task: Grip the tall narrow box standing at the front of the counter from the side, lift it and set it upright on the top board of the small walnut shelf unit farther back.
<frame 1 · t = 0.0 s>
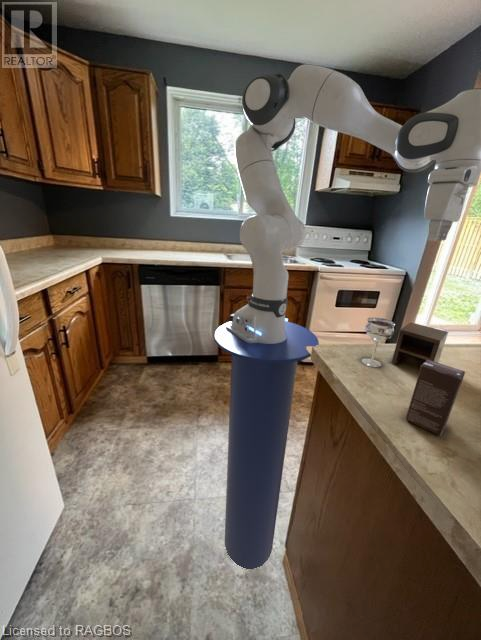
hand: (436, 240, 67), 33 cm above the countertop, tool pointing down, fingers open, 8 cm apart
wineglass: (371, 363, 74), on the countertop
shelf: (414, 364, 75), on the countertop
box: (424, 423, 52), on the countertop
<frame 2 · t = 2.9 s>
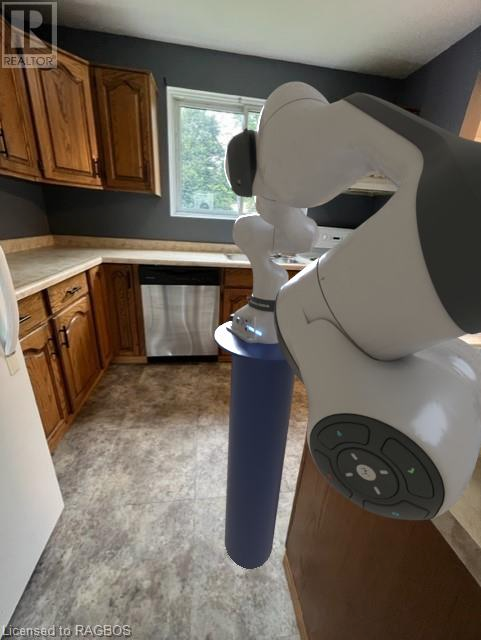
hand: (449, 344, 36), 21 cm above the countertop, tool horizontal, fingers open, 8 cm apart
nothing on the countertop moved.
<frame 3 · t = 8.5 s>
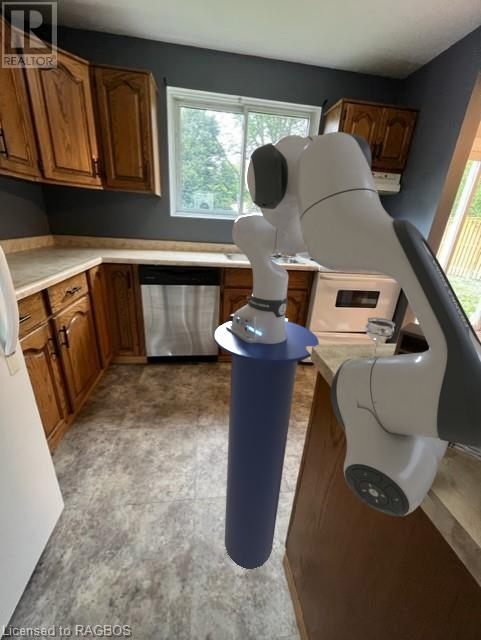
hand: (435, 392, 51), 7 cm above the countertop, tool horizontal, fingers closed on box, 6 cm apart
box: (424, 423, 52), on the countertop, touching gripper
everything else where it was.
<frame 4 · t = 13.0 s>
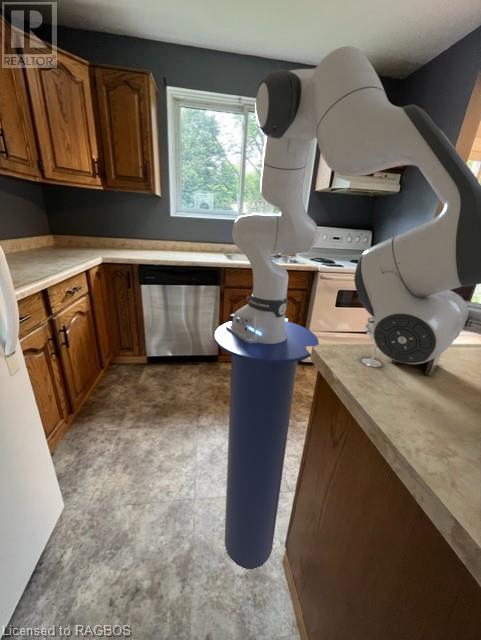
hand: (450, 301, 54), 22 cm above the countertop, tool horizontal, fingers closed on box, 6 cm apart
box: (439, 333, 56), point 15 cm above the countertop, touching gripper
everything else where it was.
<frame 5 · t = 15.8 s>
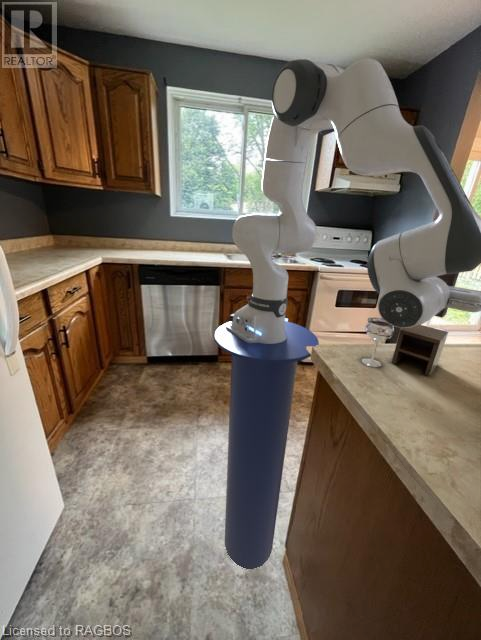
hand: (438, 288, 67), 21 cm above the countertop, tool horizontal, fingers closed on box, 6 cm apart
box: (429, 314, 69), point 15 cm above the countertop, touching gripper
everything else where it was.
when the fingers open (16 cm above the countertop, at t = 17.8 s): box stays where it is, resting on shelf.
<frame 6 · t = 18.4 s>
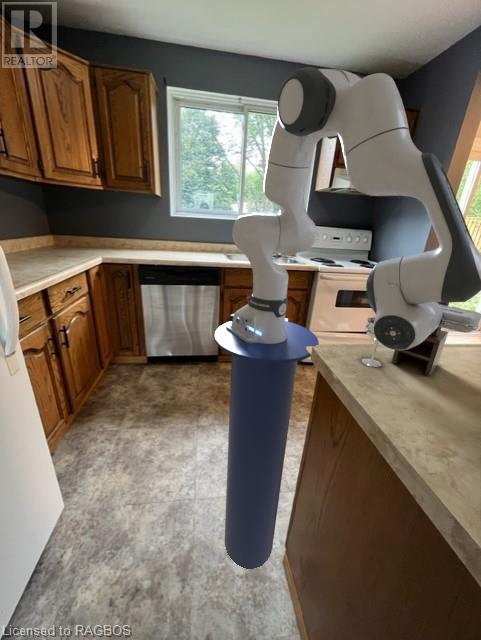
hand: (432, 305, 70), 17 cm above the countertop, tool horizontal, fingers open, 8 cm apart
box: (424, 331, 71), point 10 cm above the countertop, touching shelf
everything else where it was.
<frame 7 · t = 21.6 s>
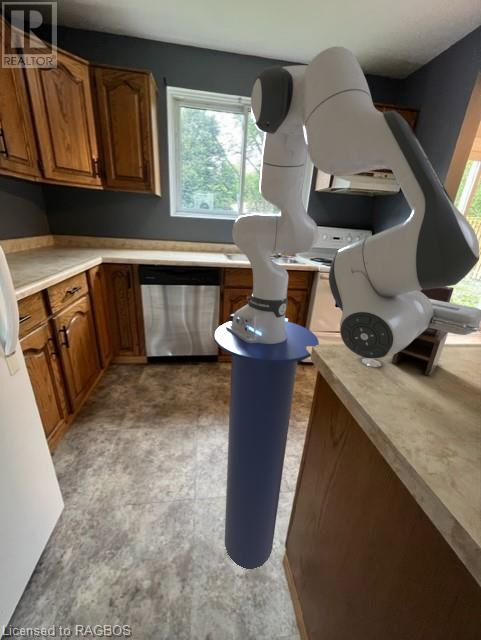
hand: (422, 301, 57), 21 cm above the countertop, tool horizontal, fingers open, 8 cm apart
nothing on the countertop moved.
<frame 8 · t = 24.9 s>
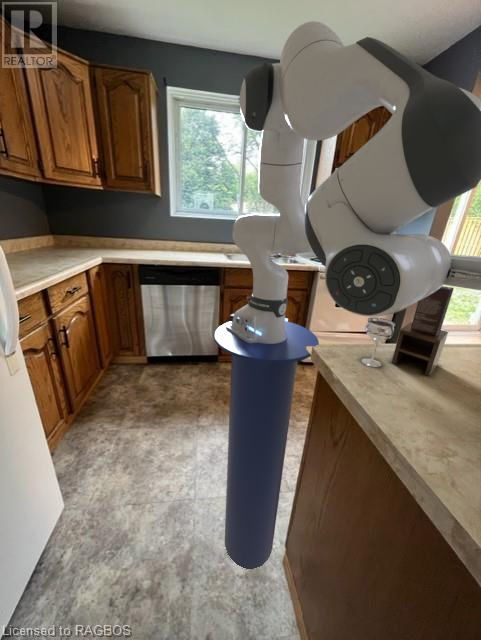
hand: (434, 261, 46), 30 cm above the countertop, tool horizontal, fingers open, 8 cm apart
nothing on the countertop moved.
at the end: box 0.1 cm off-centre on the shelf, point 9.8 cm above the shelf's base; box tilted 0°; the gripper is holding nothing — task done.
